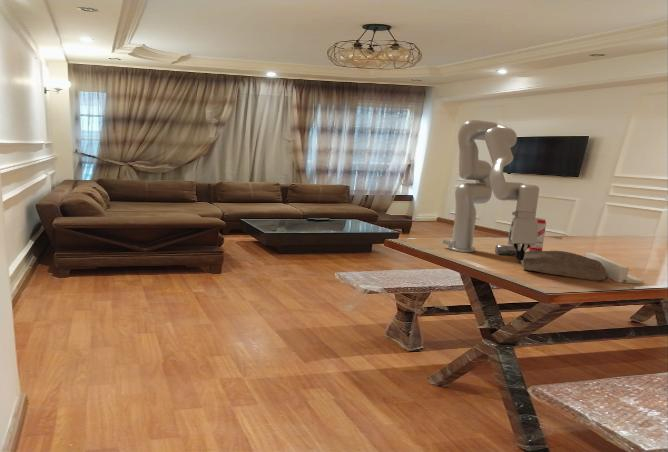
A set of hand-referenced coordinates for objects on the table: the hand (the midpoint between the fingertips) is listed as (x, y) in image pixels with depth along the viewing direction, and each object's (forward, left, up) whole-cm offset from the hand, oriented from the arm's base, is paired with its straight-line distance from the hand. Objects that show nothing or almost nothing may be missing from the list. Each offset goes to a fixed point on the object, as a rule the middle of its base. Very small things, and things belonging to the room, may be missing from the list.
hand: (519, 259), depth 184 cm
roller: (+5, +27, 0) cm, 28 cm away
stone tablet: (+17, 0, -4) cm, 18 cm away
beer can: (+24, +38, -4) cm, 45 cm away
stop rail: (+39, 0, -4) cm, 39 cm away
